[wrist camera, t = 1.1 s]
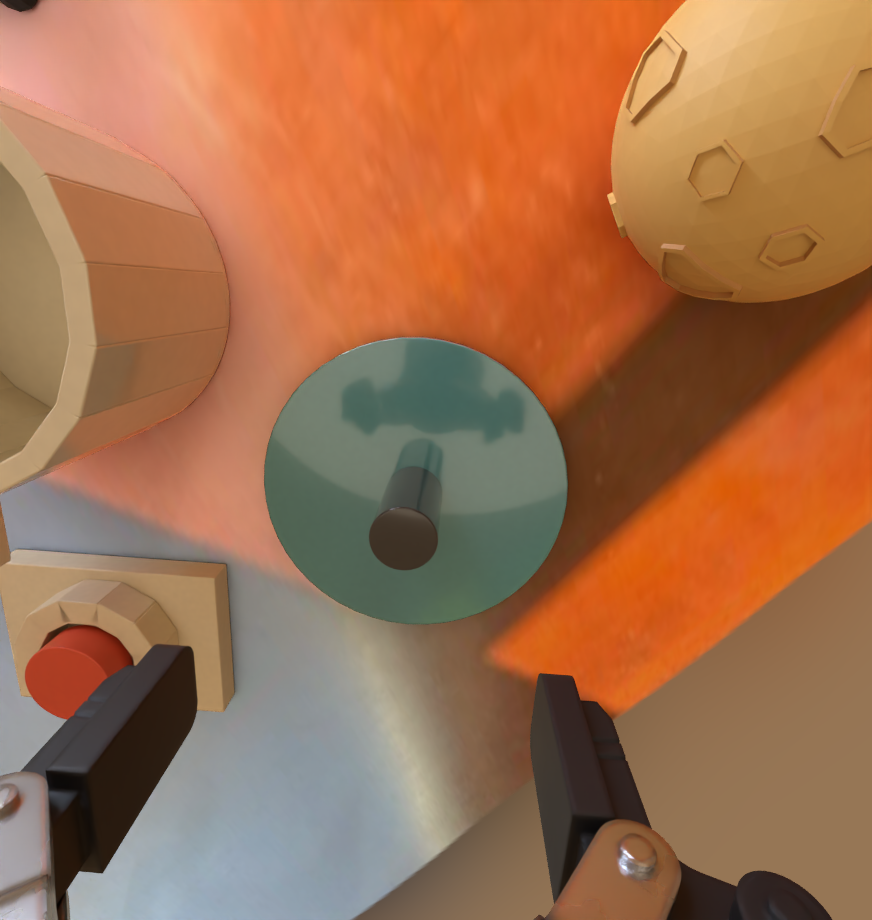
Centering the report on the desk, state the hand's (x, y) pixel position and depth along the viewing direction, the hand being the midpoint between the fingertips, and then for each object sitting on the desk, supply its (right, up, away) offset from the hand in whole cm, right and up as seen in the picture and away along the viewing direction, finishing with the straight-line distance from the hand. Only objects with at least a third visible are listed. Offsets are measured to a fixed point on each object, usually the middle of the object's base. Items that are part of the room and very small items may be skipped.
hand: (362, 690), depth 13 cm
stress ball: (+13, +17, +9) cm, 23 cm away
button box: (-15, -3, +17) cm, 23 cm away
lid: (+1, +4, +13) cm, 14 cm away
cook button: (-15, -4, +14) cm, 21 cm away
